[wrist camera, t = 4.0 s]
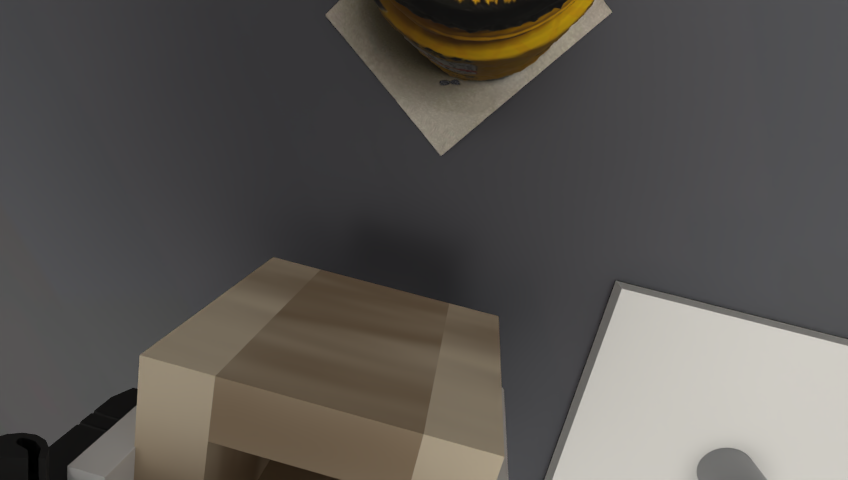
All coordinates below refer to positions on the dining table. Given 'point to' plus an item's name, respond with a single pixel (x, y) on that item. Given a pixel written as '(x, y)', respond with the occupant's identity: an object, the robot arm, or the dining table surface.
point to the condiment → (460, 52)
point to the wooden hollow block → (322, 385)
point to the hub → (704, 397)
